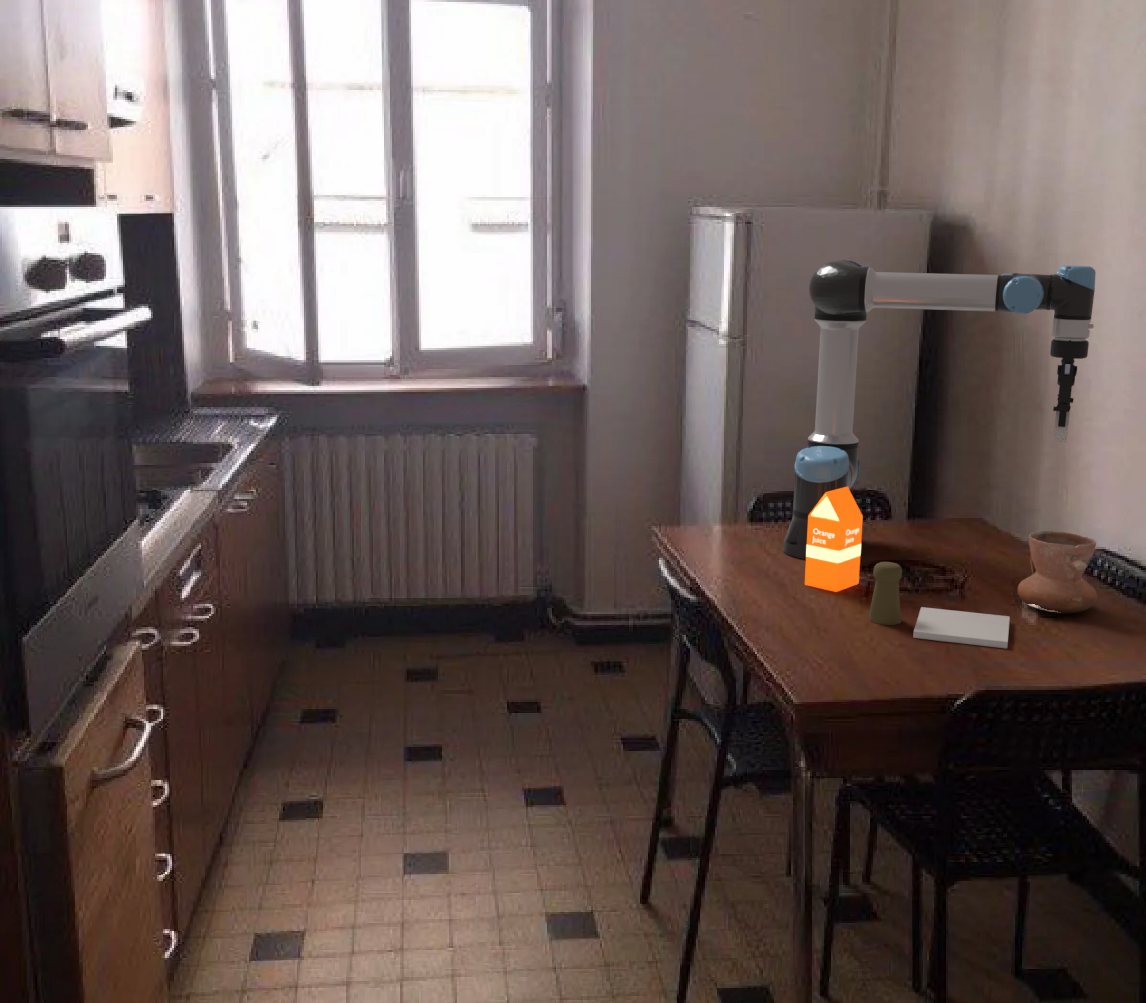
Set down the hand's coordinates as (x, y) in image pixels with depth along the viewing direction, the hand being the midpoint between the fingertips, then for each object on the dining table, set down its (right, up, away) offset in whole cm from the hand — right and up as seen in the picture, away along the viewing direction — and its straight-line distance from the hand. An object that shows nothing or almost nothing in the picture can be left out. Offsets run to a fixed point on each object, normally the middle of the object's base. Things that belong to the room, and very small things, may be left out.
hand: (1060, 436), depth 274 cm
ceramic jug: (-12, -35, -29) cm, 47 cm away
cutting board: (-35, -38, -44) cm, 68 cm away
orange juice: (-53, -31, -15) cm, 63 cm away
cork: (-48, -36, -38) cm, 71 cm away
